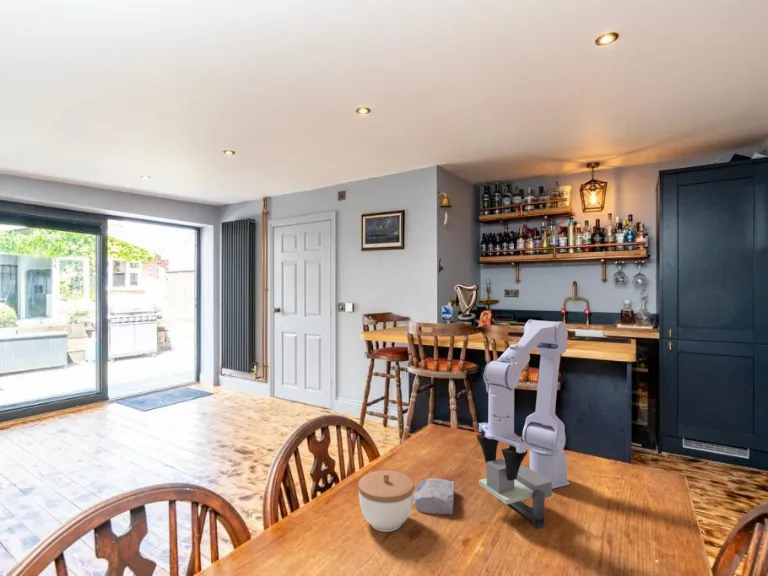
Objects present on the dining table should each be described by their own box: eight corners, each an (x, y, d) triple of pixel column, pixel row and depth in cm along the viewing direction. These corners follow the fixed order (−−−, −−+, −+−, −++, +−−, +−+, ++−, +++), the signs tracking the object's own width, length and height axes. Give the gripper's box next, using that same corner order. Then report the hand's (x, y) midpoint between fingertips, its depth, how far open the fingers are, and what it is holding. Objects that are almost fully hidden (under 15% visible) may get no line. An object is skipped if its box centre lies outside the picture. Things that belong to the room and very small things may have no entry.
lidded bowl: (425, 522, 93) (425, 474, 93) (386, 547, 84) (386, 494, 84) (385, 501, 102) (385, 457, 102) (346, 522, 93) (346, 474, 93)
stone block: (414, 520, 98) (456, 516, 96) (410, 499, 98) (452, 495, 96) (419, 496, 109) (457, 492, 108) (416, 478, 110) (453, 474, 108)
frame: (503, 496, 105) (504, 467, 105) (544, 526, 92) (544, 493, 92) (497, 498, 104) (497, 468, 104) (537, 528, 91) (537, 494, 91)
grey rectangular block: (486, 485, 97) (486, 462, 97) (501, 481, 99) (501, 458, 98) (499, 494, 93) (498, 469, 93) (514, 489, 95) (514, 465, 94)
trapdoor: (521, 477, 105) (521, 464, 105) (553, 497, 95) (553, 482, 95) (478, 488, 100) (478, 474, 100) (506, 510, 90) (506, 495, 90)
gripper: (468, 406, 101) (468, 462, 101) (507, 425, 87) (507, 489, 87) (492, 403, 103) (492, 457, 104) (534, 421, 90) (533, 483, 90)
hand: (500, 472), depth 96 cm, fingers open, 7 cm apart
